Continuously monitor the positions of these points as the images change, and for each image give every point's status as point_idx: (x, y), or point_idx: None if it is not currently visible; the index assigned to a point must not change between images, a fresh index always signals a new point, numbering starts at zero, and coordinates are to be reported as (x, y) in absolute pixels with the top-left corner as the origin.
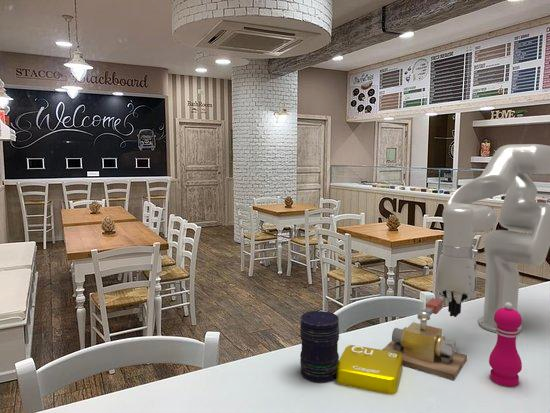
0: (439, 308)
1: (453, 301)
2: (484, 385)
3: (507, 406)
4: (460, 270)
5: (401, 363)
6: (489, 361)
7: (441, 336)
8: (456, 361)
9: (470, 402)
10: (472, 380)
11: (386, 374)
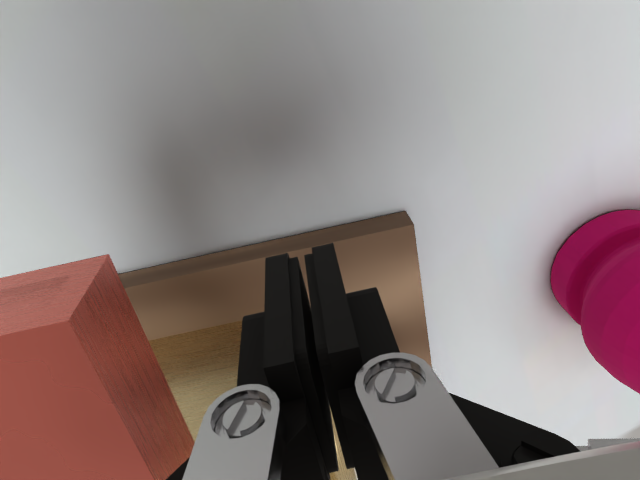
0: (153, 390)
1: (320, 452)
2: (542, 359)
3: (635, 417)
4: None
5: None
6: (595, 357)
7: (342, 467)
8: (398, 328)
9: None
10: (491, 359)
11: None
